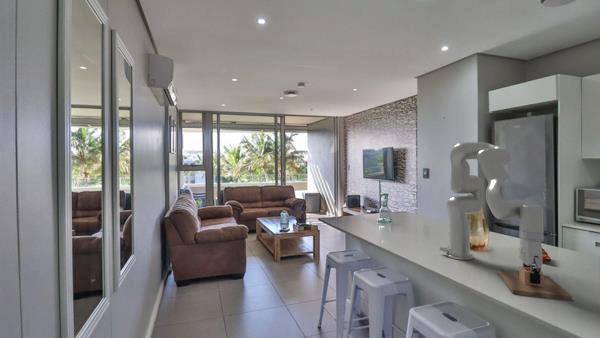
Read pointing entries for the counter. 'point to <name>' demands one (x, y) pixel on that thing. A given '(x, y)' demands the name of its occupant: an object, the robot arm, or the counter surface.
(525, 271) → the collar block
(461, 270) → the counter surface
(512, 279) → the walnut board
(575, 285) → the counter surface
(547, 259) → the croissant
